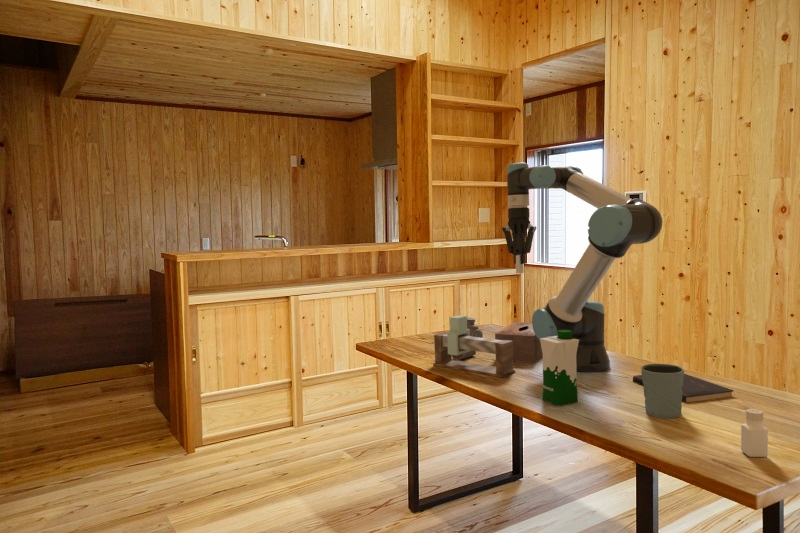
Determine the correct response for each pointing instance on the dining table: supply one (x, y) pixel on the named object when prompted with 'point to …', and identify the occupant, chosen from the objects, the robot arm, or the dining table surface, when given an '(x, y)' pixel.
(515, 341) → the tissue box cover
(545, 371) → the milk carton
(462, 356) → the pipe
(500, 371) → the rail
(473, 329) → the pipe fitting
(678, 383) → the grey green cup
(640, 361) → the dining table surface
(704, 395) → the hardcover book
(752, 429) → the salt shaker
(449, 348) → the pale green slider block
